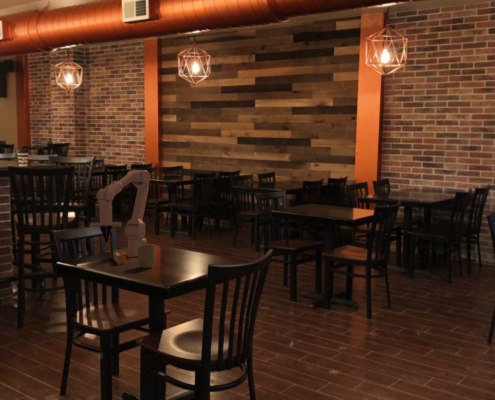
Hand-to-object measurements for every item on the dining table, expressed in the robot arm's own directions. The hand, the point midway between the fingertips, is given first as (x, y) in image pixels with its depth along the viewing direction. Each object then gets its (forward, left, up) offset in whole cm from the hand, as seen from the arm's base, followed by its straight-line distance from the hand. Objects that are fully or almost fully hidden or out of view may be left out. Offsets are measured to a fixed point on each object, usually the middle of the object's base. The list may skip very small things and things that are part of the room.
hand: (106, 241), depth 285 cm
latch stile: (-7, +7, -10) cm, 14 cm away
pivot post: (-5, -4, -10) cm, 12 cm away
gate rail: (-5, +3, -10) cm, 11 cm away
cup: (-15, +21, -10) cm, 28 cm away
